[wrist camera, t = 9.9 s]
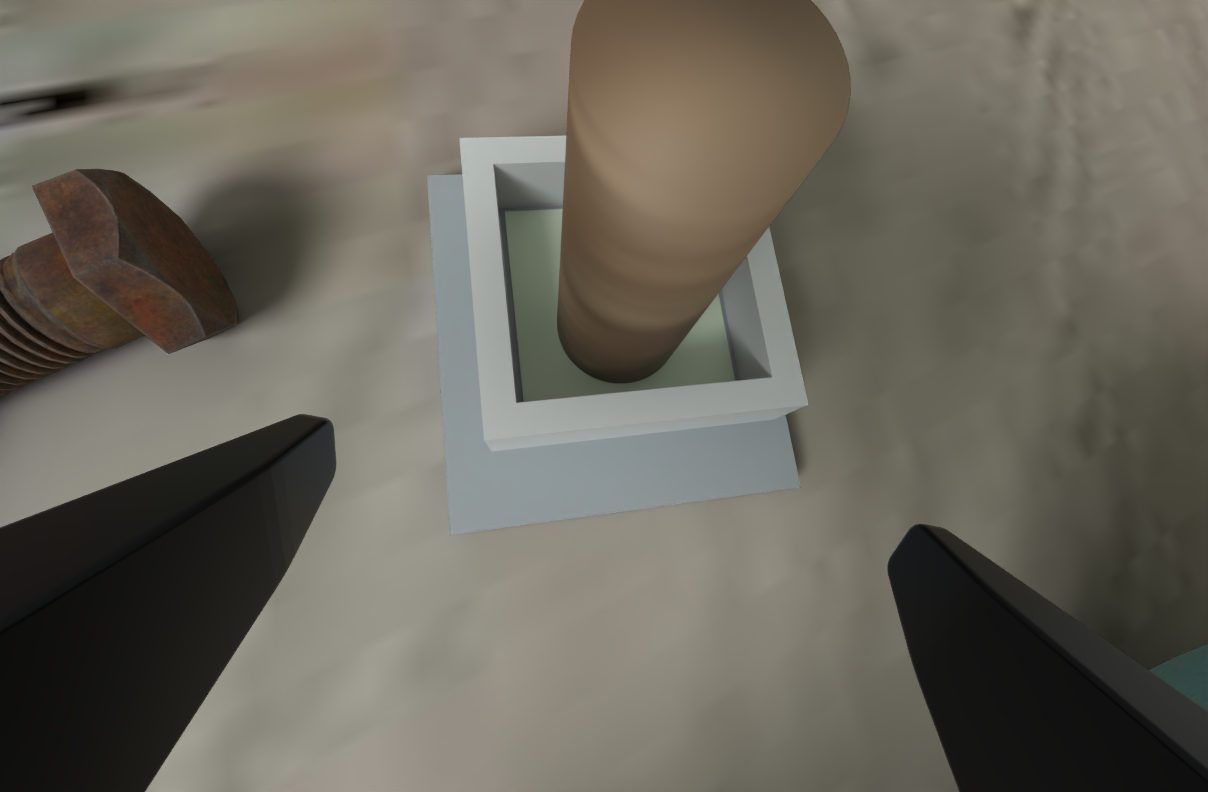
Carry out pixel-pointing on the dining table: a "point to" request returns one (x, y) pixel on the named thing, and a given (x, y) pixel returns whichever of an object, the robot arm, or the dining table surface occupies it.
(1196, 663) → the teal bowl
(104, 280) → the bolt
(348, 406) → the dining table surface
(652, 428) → the white tray
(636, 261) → the walnut cylinder
